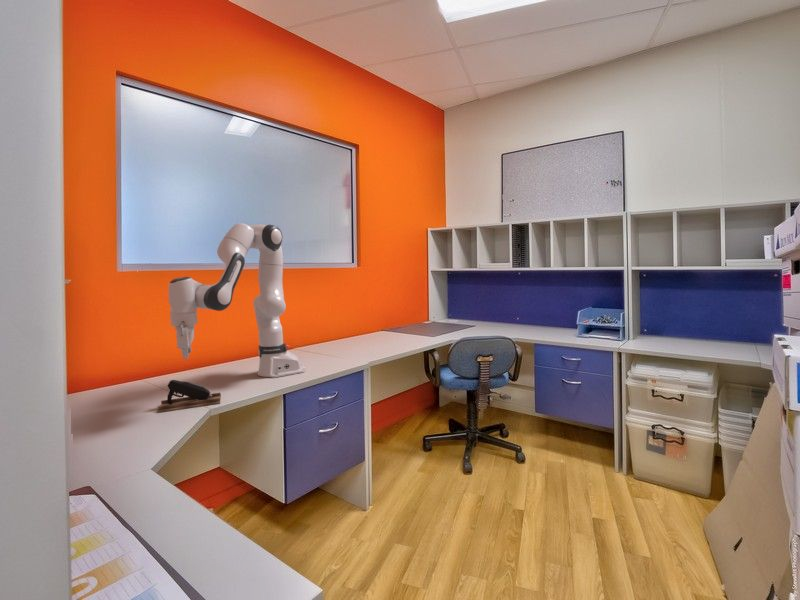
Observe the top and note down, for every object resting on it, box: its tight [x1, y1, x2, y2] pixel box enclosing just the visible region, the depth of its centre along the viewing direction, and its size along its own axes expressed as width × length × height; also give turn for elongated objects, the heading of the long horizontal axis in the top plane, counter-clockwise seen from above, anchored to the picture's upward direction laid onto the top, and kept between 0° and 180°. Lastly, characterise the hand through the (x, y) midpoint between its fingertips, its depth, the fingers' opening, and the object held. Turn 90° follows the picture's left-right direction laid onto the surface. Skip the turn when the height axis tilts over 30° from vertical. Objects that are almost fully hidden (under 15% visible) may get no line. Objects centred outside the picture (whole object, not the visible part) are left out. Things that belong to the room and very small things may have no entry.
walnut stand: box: [157, 392, 222, 414], centre depth 152 cm, size 21×10×2 cm, turn 112°
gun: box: [166, 379, 212, 405], centre depth 152 cm, size 3×16×10 cm, turn 110°
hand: (187, 355), depth 151 cm, fingers open, 8 cm apart
